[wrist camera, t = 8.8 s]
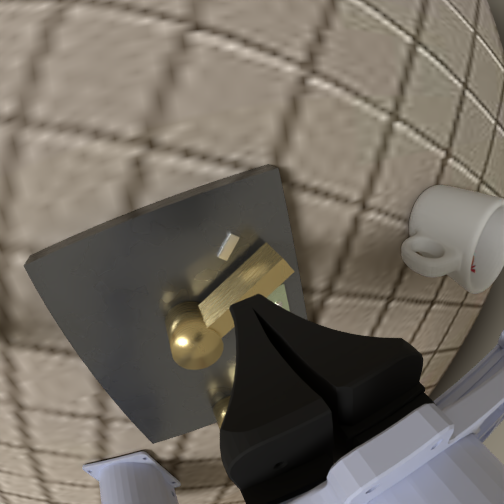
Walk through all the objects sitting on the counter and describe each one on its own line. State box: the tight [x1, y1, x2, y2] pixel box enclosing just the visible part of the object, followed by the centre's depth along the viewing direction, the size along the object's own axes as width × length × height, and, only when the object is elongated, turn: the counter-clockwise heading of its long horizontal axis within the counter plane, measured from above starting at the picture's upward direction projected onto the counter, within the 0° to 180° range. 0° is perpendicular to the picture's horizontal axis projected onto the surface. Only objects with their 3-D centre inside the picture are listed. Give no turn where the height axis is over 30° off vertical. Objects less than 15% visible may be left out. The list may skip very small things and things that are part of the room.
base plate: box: [24, 164, 307, 443], centre depth 22 cm, size 19×16×2 cm
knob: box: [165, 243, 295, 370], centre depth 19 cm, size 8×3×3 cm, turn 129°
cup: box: [401, 185, 504, 294], centre depth 23 cm, size 11×8×8 cm
